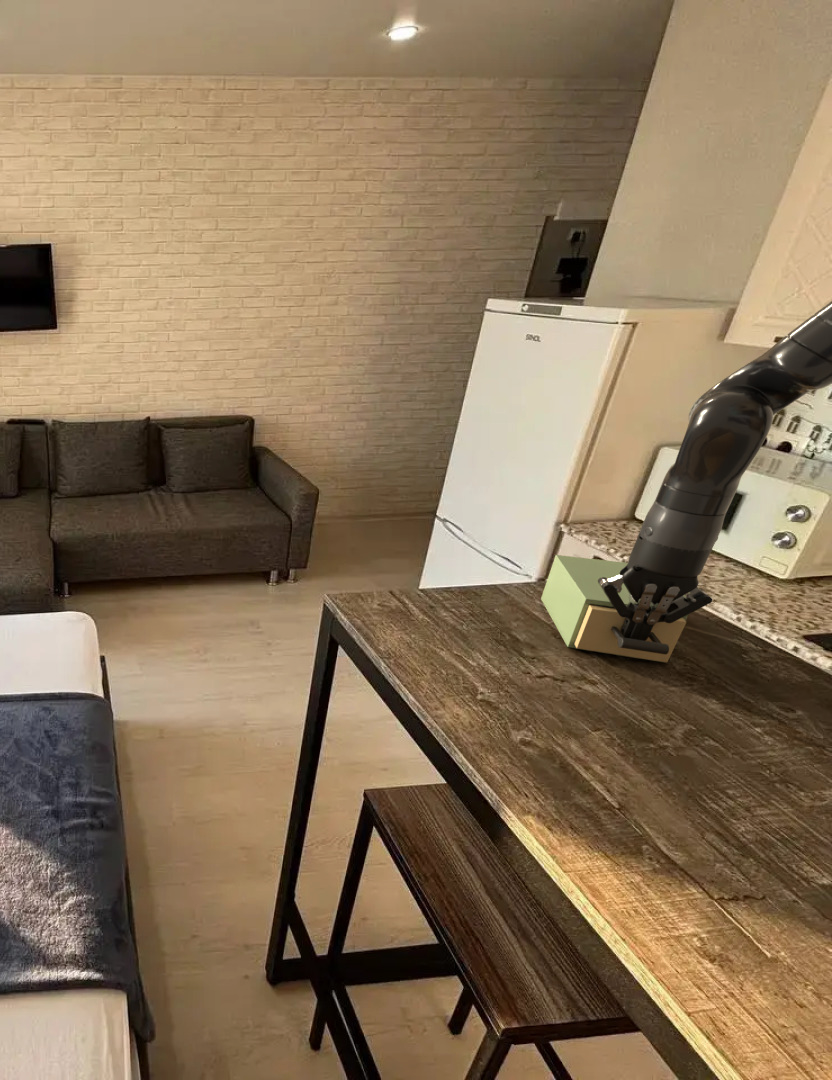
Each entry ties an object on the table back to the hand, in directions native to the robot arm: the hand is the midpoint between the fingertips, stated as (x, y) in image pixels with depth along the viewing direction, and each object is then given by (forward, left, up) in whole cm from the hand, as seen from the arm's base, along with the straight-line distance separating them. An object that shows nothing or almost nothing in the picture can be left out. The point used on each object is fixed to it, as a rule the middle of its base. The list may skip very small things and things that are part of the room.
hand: (630, 640), depth 86 cm
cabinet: (0, -10, -4) cm, 11 cm away
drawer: (0, -6, -3) cm, 7 cm away
